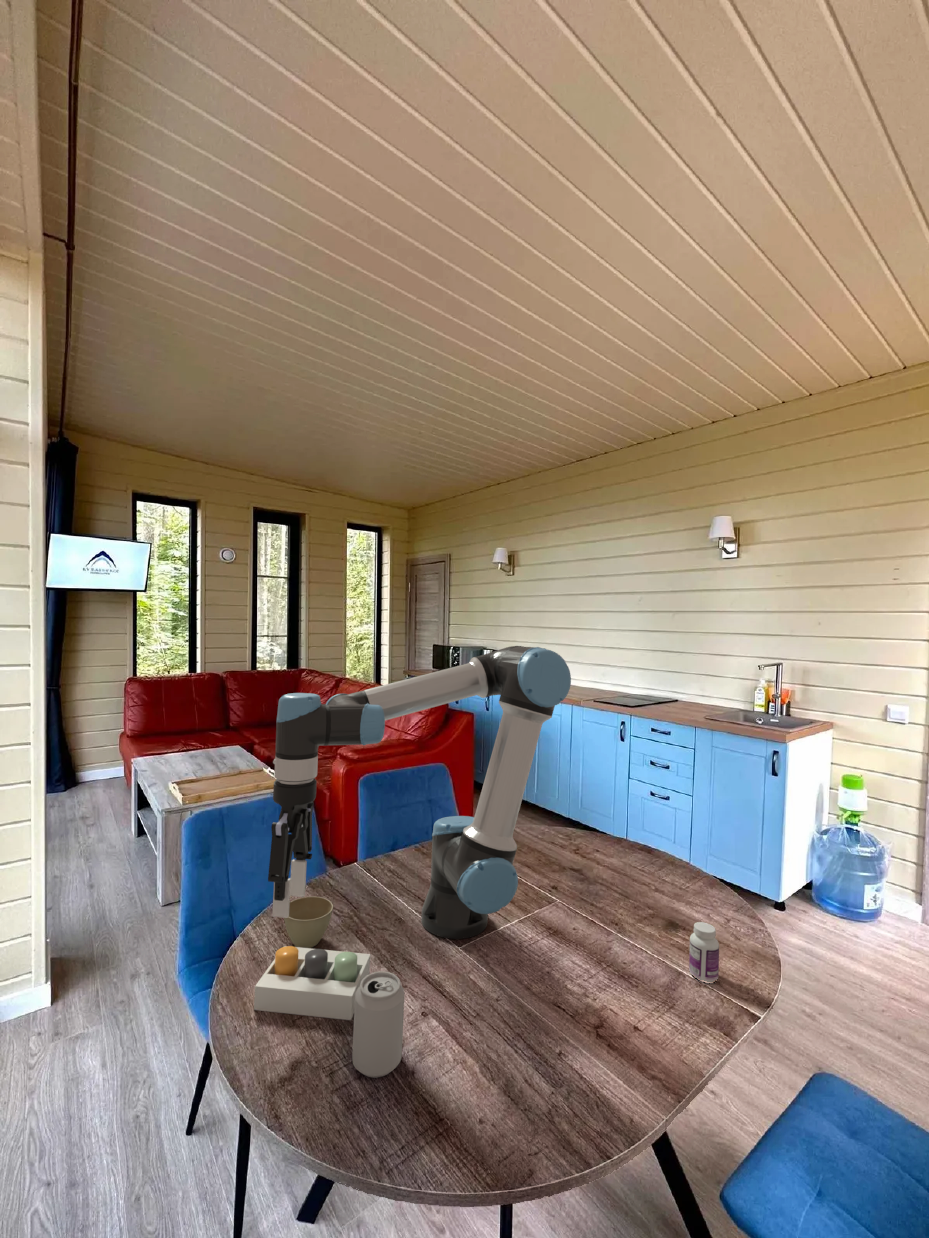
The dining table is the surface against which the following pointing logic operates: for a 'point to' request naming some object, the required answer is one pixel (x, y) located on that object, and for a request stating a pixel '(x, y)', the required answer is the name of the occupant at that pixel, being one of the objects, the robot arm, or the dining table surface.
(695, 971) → the pill bottle
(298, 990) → the white compartment box
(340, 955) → the green button
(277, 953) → the orange rounded piece
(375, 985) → the can
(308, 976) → the black button
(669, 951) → the dining table surface
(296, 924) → the flower pot
